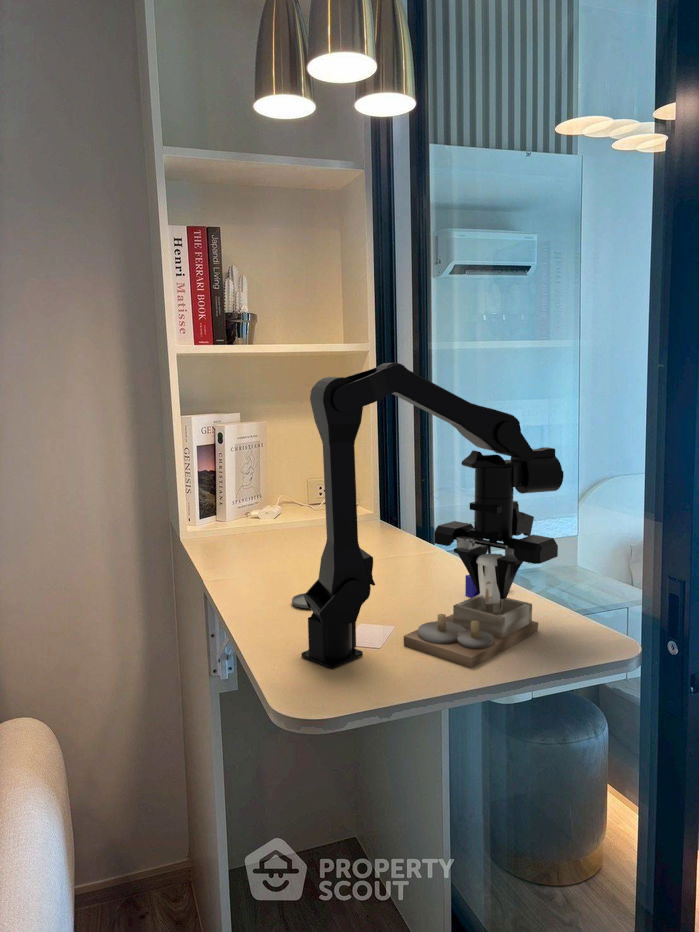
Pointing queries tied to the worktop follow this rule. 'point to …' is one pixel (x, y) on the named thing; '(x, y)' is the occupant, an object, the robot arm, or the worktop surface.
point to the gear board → (474, 632)
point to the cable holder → (470, 588)
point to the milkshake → (489, 583)
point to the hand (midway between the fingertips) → (492, 595)
